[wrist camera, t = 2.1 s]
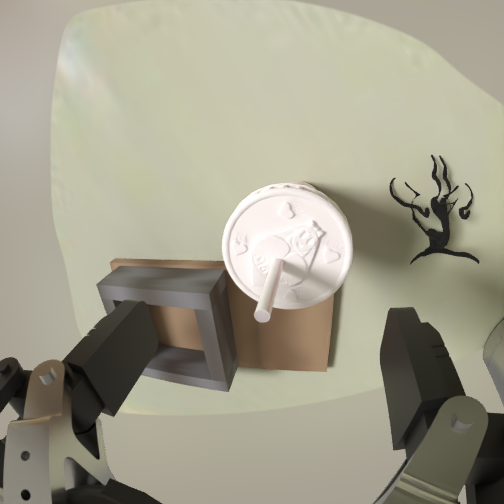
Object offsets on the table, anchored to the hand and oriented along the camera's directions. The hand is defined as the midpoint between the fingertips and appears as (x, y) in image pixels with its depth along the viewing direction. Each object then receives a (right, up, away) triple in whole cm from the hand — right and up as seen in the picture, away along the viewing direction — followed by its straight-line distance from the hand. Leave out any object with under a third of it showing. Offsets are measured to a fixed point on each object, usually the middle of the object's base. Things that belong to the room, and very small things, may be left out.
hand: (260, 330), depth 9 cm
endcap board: (-4, -4, +19) cm, 20 cm away
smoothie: (+3, +6, +13) cm, 15 cm away
